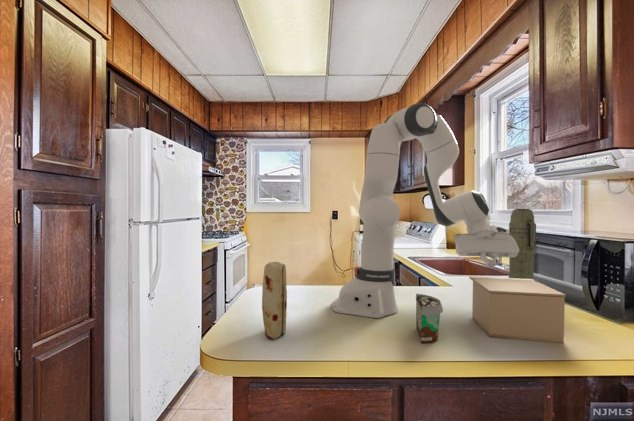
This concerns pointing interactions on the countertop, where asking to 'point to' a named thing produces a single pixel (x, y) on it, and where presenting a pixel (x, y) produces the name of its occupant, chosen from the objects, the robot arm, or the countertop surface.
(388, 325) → the countertop surface
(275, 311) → the food model
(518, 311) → the carton
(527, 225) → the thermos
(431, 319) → the food container
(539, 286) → the flap
